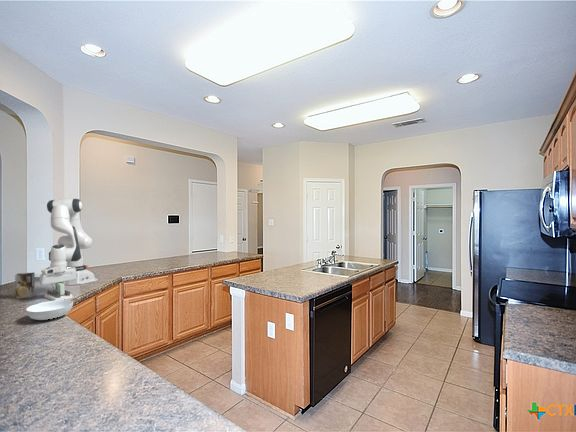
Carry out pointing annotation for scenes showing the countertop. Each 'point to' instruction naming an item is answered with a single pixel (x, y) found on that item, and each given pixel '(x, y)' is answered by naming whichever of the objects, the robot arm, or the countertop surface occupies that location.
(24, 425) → the countertop surface
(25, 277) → the coffee box
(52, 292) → the floor track
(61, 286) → the door panel
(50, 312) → the serving bowl
